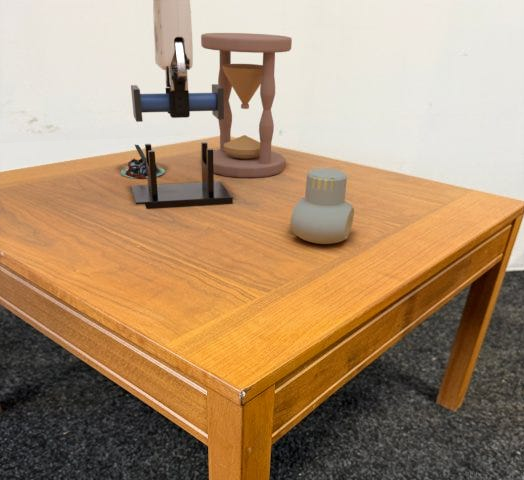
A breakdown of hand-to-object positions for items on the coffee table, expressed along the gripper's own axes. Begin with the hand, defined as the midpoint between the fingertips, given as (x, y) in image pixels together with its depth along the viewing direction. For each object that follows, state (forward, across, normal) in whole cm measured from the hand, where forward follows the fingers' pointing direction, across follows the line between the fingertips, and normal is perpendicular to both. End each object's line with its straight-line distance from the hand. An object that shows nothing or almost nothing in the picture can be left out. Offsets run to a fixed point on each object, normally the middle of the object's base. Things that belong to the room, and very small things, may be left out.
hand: (178, 114), depth 93 cm
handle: (+1, 0, 0) cm, 1 cm away
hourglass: (+15, -19, +17) cm, 29 cm away
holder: (+14, 0, 0) cm, 14 cm away
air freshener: (+15, +24, +18) cm, 33 cm away
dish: (+14, -18, -5) cm, 24 cm away
